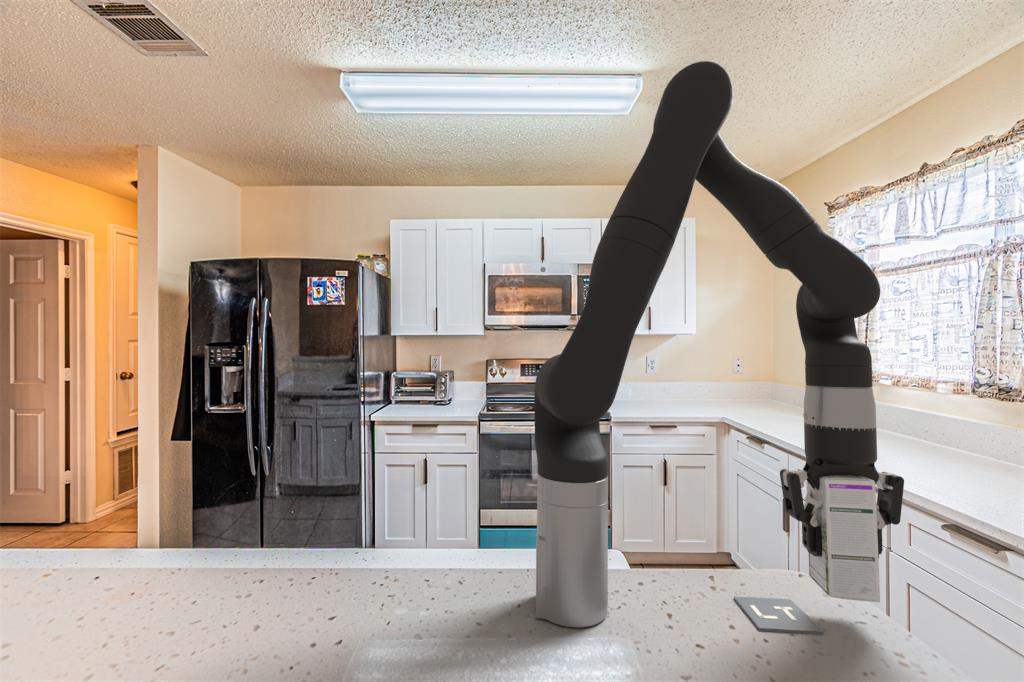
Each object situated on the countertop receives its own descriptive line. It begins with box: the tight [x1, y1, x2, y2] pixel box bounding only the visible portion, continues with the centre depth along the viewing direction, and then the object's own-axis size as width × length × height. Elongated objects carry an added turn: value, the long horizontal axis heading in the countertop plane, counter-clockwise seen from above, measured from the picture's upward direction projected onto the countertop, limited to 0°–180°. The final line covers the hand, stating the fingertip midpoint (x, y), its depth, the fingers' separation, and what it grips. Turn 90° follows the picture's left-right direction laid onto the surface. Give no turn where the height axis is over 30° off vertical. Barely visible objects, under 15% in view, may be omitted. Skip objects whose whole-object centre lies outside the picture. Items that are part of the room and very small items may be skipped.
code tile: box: [733, 595, 825, 635], centre depth 58 cm, size 7×7×1 cm
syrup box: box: [805, 475, 881, 603], centre depth 57 cm, size 6×6×14 cm
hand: (842, 554), depth 57 cm, fingers closed on syrup box, 6 cm apart
